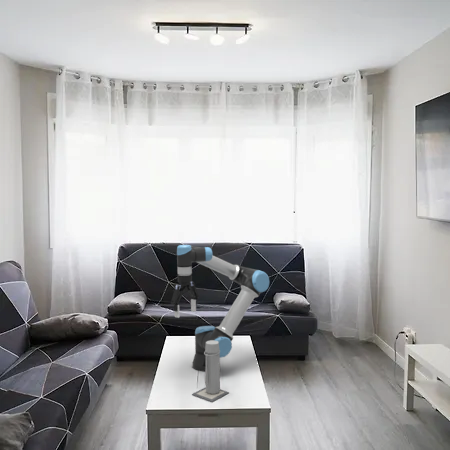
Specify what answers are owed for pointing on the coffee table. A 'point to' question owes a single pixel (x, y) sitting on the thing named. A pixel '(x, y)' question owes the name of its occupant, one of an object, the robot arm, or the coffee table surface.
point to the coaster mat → (209, 395)
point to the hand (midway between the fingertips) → (185, 314)
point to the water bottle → (212, 367)
